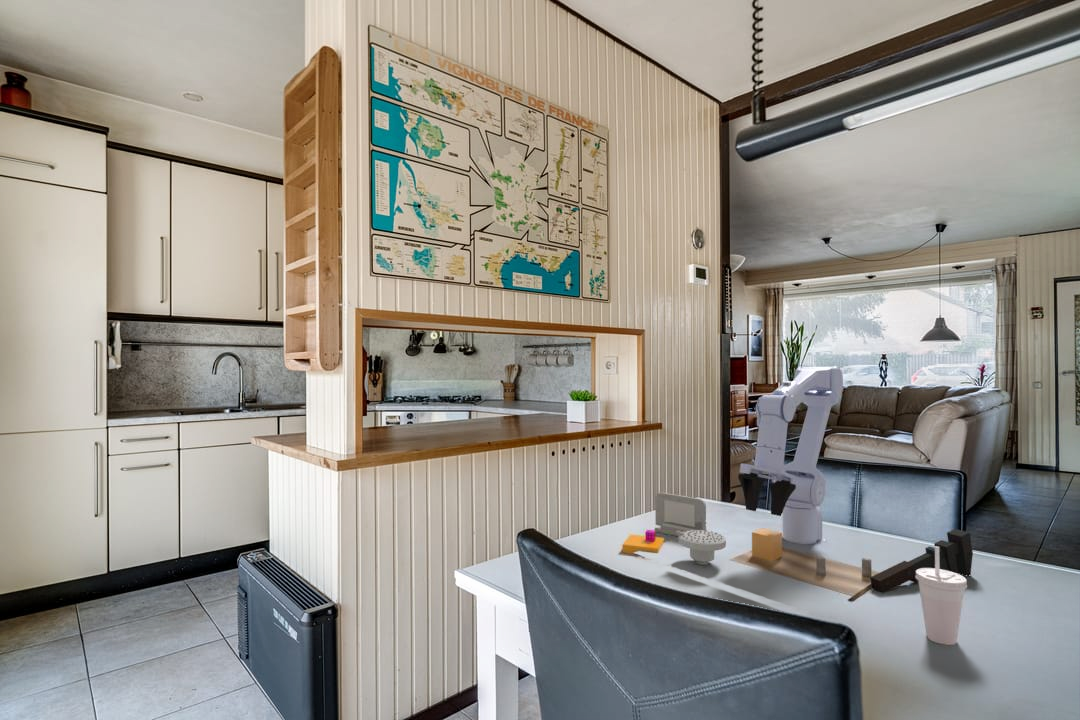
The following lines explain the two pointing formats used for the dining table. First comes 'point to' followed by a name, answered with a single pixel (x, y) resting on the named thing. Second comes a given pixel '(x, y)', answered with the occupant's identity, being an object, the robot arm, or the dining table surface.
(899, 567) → the adjustable wrench
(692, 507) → the handheld gaming console
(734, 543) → the dining table surface
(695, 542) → the showerhead
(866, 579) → the board
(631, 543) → the orange block with knob
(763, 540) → the orange wooden toy cube
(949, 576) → the smoothie
